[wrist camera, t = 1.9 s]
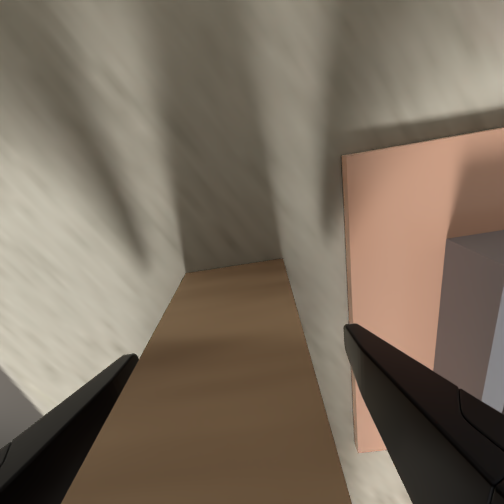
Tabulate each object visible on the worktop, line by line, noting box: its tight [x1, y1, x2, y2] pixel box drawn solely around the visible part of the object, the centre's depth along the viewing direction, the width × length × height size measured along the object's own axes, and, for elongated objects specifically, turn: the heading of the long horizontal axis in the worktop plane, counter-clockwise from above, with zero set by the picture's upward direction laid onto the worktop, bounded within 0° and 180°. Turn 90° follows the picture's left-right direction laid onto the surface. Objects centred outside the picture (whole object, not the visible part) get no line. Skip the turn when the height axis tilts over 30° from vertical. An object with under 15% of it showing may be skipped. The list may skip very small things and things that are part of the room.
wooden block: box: [61, 258, 352, 504], centre depth 7 cm, size 4×4×9 cm
